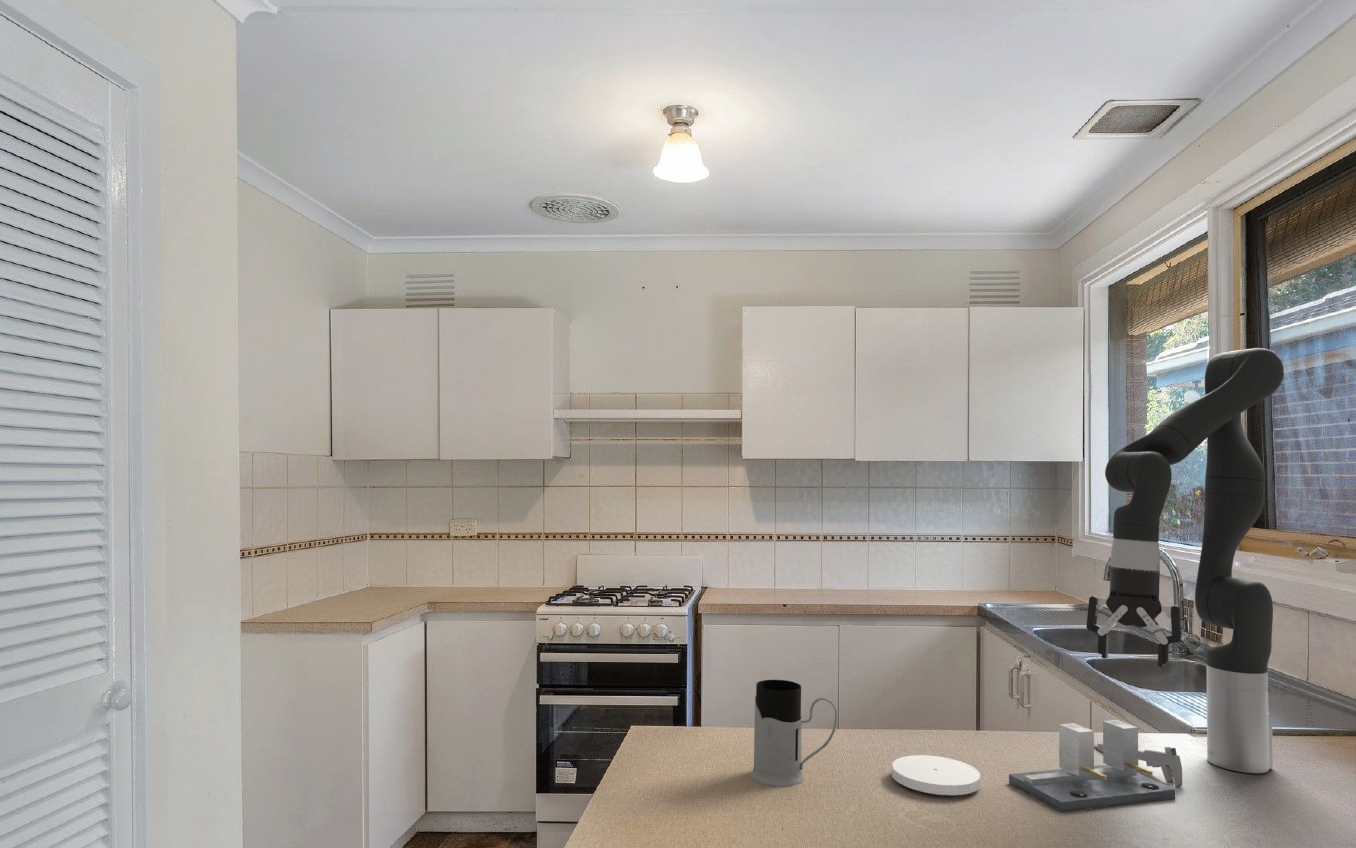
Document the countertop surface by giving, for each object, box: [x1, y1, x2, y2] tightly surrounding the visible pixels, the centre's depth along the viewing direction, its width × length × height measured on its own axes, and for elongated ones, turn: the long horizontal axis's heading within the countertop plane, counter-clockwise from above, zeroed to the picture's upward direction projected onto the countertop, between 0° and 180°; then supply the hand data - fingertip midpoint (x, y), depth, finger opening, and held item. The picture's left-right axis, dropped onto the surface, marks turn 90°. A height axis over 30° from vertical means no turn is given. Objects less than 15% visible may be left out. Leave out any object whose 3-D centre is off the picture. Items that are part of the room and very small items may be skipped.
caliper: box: [1094, 742, 1183, 788], centre depth 150 cm, size 20×1×6 cm, turn 12°
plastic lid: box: [891, 754, 982, 796], centre depth 139 cm, size 14×14×2 cm
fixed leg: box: [1102, 719, 1154, 776], centre depth 140 cm, size 3×8×7 cm, turn 17°
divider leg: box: [1058, 722, 1107, 780], centre depth 137 cm, size 3×8×7 cm, turn 17°
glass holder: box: [750, 679, 838, 788], centre depth 140 cm, size 9×14×15 cm, turn 70°
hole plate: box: [1008, 764, 1176, 813], centre depth 137 cm, size 22×12×2 cm, turn 107°
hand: (1132, 662), depth 144 cm, fingers open, 8 cm apart
